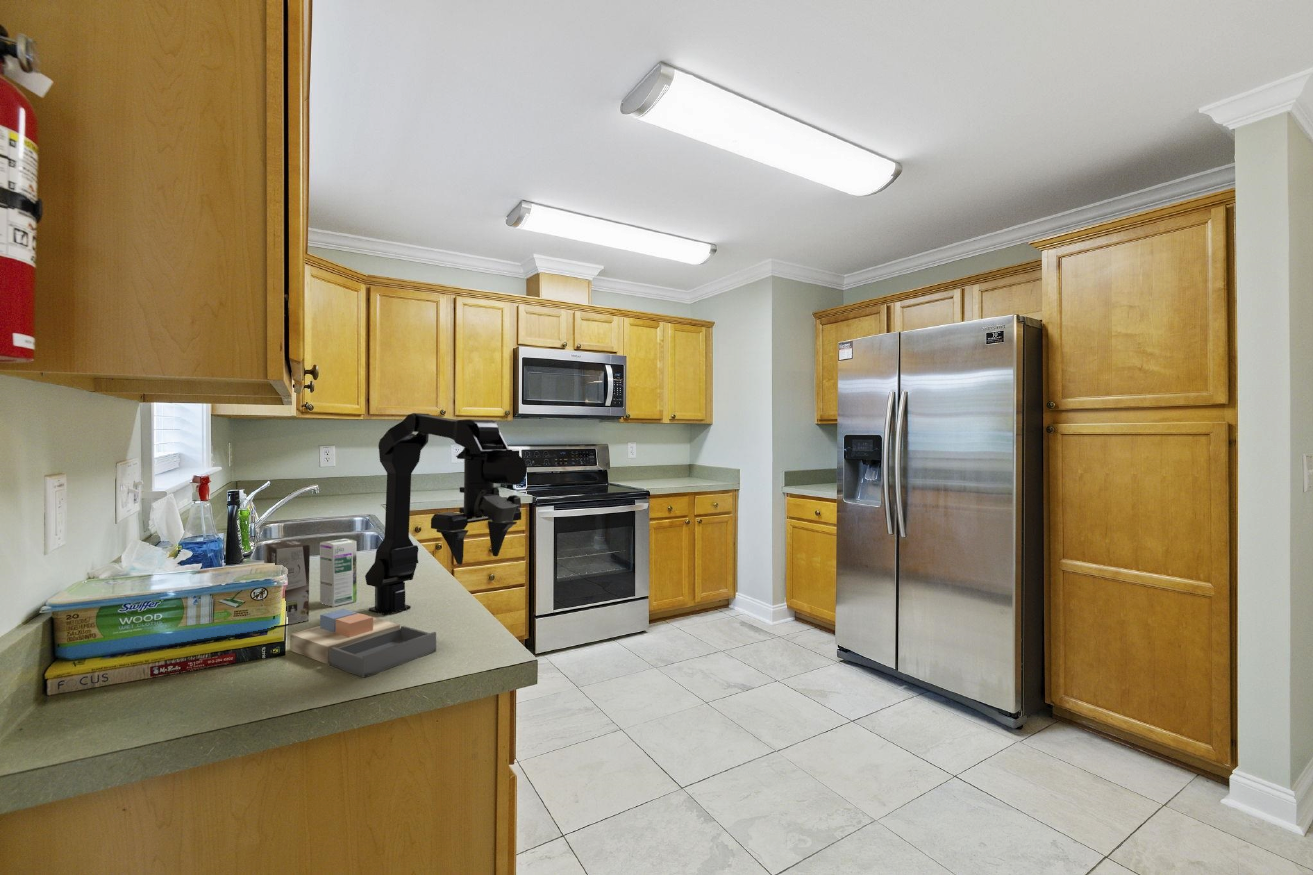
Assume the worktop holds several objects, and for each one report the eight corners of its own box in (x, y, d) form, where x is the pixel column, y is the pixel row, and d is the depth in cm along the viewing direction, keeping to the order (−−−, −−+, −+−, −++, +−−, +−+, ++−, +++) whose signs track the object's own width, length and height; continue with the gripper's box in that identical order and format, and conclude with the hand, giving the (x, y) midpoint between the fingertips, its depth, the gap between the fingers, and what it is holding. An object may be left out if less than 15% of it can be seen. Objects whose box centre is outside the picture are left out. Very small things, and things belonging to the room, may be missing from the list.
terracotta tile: (335, 632, 109) (335, 619, 109) (358, 626, 112) (358, 613, 112) (349, 637, 106) (349, 623, 106) (373, 630, 110) (373, 617, 110)
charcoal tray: (329, 664, 101) (329, 644, 101) (401, 640, 113) (401, 622, 113) (364, 677, 96) (364, 656, 96) (436, 651, 108) (436, 632, 108)
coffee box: (310, 620, 124) (311, 544, 124) (275, 628, 120) (275, 548, 120) (296, 611, 131) (297, 538, 131) (262, 618, 126) (263, 542, 126)
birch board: (290, 650, 108) (290, 633, 108) (362, 629, 120) (362, 614, 120) (327, 664, 102) (327, 646, 102) (399, 640, 114) (399, 624, 114)
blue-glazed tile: (320, 627, 111) (320, 614, 111) (343, 621, 115) (343, 608, 115) (333, 632, 109) (334, 618, 109) (357, 625, 113) (357, 612, 113)
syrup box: (332, 607, 134) (333, 543, 134) (318, 603, 137) (319, 541, 137) (357, 601, 139) (357, 540, 139) (343, 597, 142) (343, 537, 142)
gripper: (470, 488, 106) (469, 574, 106) (541, 481, 122) (540, 557, 122) (429, 484, 112) (428, 566, 112) (502, 478, 128) (501, 550, 128)
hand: (478, 560), depth 118 cm, fingers open, 9 cm apart
